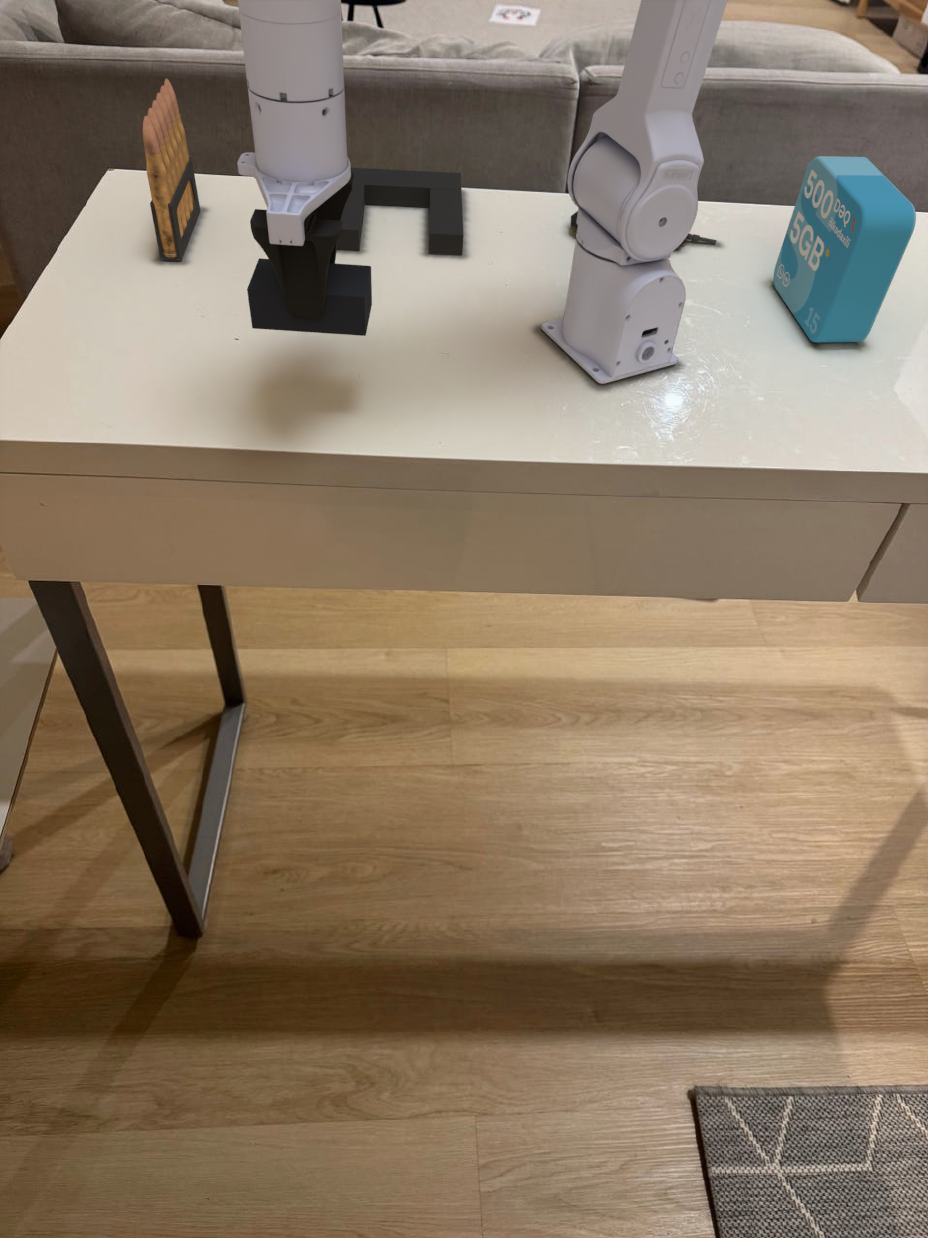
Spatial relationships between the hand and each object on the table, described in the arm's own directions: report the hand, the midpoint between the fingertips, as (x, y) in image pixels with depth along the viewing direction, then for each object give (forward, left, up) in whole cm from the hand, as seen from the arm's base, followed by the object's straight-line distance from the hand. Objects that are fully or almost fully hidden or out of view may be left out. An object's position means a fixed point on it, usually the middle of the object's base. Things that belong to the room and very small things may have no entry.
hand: (312, 297), depth 64 cm
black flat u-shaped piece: (+25, -18, -8) cm, 32 cm away
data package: (-6, -46, -8) cm, 47 cm away
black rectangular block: (0, 0, -1) cm, 1 cm away
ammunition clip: (+30, +2, -8) cm, 31 cm away
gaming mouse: (+13, -40, -8) cm, 43 cm away
